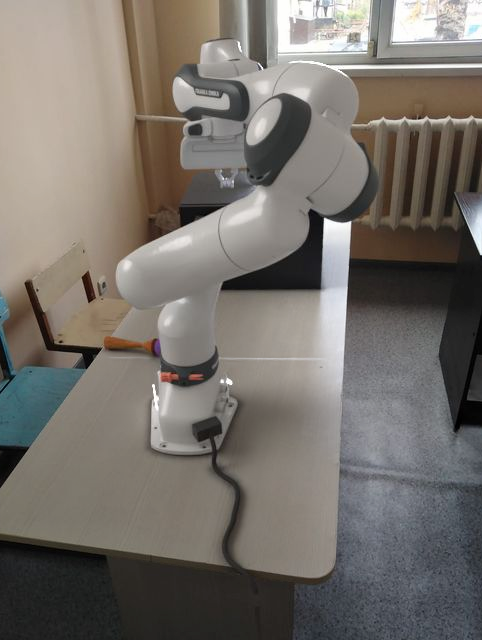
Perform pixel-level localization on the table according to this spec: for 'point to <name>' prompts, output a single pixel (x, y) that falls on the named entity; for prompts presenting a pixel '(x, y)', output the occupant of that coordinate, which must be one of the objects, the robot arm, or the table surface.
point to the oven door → (286, 273)
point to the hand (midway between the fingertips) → (227, 187)
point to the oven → (216, 189)
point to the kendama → (133, 344)
